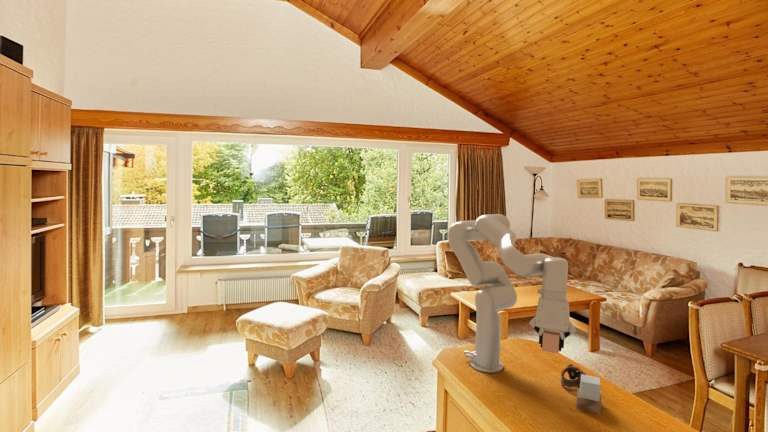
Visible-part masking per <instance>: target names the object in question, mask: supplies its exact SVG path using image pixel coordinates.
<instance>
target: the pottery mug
mask: <svg viewBox="0 0 768 432" xmlns="http://www.w3.org/2000/svg"><path fill="white" fill-rule="evenodd" d="M566 373H567V375H568V378H569V379H567V378H566V377H565V374H566ZM560 374H561V378H560V385H561V386H562V387H568V388H577V387H580V380H581V374H583V375H587V373H586V372H585V371H584V370H582V369H581V368H580V367H578V366H575V365H574V364H572V363H570V364H568V365H567V366H566V367H564V368H563V369H562V371H561V373H560Z"/></svg>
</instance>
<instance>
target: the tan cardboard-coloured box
mask: <svg viewBox="0 0 768 432" xmlns="http://www.w3.org/2000/svg"><path fill="white" fill-rule="evenodd" d="M576 389H577V390H576V409H577V410H581V411H584V412H588V413H589V412H590V413H593V414H597V415H602V406H603V405H602V394H601V392H600V400H599V401H594V400H589V399H585V398H580V387H578V388H577V387H576Z"/></svg>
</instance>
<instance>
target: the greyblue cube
mask: <svg viewBox="0 0 768 432" xmlns="http://www.w3.org/2000/svg"><path fill="white" fill-rule="evenodd" d="M601 386H602V385H601V379H600V377H598V376H593V375H588V374H586V375H583V374H581V380H580V386H579V389H580V398H585V399H589V400H594V401H599V400H600V393H601V388H602V387H601Z"/></svg>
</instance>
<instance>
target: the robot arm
mask: <svg viewBox="0 0 768 432" xmlns="http://www.w3.org/2000/svg"><path fill="white" fill-rule="evenodd" d="M447 240H448V244H449V246H450V248H451V250H452V252H453V254H455V257H457V259H458V261H459V263H460V266H461V268H462V269H463V271H464V274H465V276H466V277H467V280H468V282H469V283H470V284H471V286H473V287H482V288H480V289H479V290H477V292H476V294H475V297H474V304H475V310H476V311H475V312H476V314H475V315H476V323H475V343H474V344H475V346H474V350H472V351H471V350H466V349H465V350H464V352H463V355H464V356H465V358H467V359H470V362H469V364H470V366H471V367H472V368H473V369H475V370H477V371H479V372H483V373H492V374H495V373H499V372H501V371H502V370H503V369H504V364H503V362H502V361H501V360H500V357H501V339H502V319H501V316H500V313H499V311H502V310H507V309H510V308H512V307H515V305H516V303H517V301H518V295H517V292H516V290H515V286H514V285H513V283H512V282H511V280H510V278H509V275H507V272H506V271H505V269H504V268H503V266H502V265H501V263H499V262H497V261H492V260H490V261H489V260H488V261H487V260H486V261H484V260H483V259H482V257H481V255H480V253H479V251H478V250H477V249H476V247H475V246H473V245H472V244H471V243H470V242H473V241H484V240H486V241H487V242H488V243H490V244H491V245H493V246H494V247H495V248H496V250H498V253H499V257H500V258H501V259H500V260H501V262H502V263H503V264H504V265H505V266H506V267H507V268H508V269H509V270H511V271H512V272H513V273H514V274H516V275H517V276H520V277H522V278H531V277H536V276H542V286H541V288H540V289H537V294H540V296H539V297H538V301H537V307H536V313H535V316H533V318H532V319H531V320H530V321H529V323H528V324H529V326H531V328H533V329H534V331H535V332H536V333H537V335H538V344H539V345H540V348H541V349H542V343H543V332H544V329H549V330H555V331H559V332H560V339H559V352H562V349H564V347H565V340H566V339H567V338H568V337H570V335H573V334H575V333H576V332H577V328H576V327H575V325H574V324H573V322H572V321H571V320H570V304H569V303H570V302H569V300H568V299H567V293H568V291H567V290H568V288H567V287H568V274H569V262H568V260H567V259H566V258H563V257H557V256H551V255H548V254H546V253H542V252H541V253H539V252H538V253H529V254H523V253H522V252H521V251H519V250H518V249H517V248H516V247H515V246H514V245H516V241H517V234H516V233H515V232H514V231H513V230H511V223H510V220H509V218H508V217H506V215H504V214H502V213H492V214H489V213H488V214H482V215H480V216H478V217H477V218H476V219H475V220H459V221H456V222H454V223H451V225H450V226H449V228H448V233H447Z"/></svg>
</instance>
